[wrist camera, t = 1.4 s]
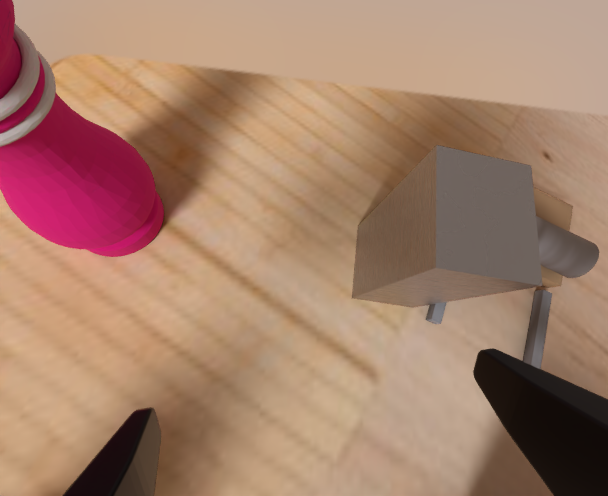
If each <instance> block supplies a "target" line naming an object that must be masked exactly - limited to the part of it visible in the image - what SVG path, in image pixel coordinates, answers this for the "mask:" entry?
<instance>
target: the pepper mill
mask: <svg viewBox="0 0 608 496" xmlns="http://www.w3.org/2000/svg"><path fill="white" fill-rule="evenodd" d="M14 16H15V15H14V5H13V2H12V0H0V189H1V191H2V193H3V195H4V197H5V200H6V202H7V204H8V205H9V207H10V208H11V210H12V211H13V212H14V213H15V214H16V215H17V217H18V218H19V219H20V220H21V221H22V222H23V223H24V224H25V225H26V226H27V227H28V228H30V229H31V230H32V231H34V232H36V233H37V234H39V235H41V236H42V237H44V238H45V239H47V240H49V241H51V242H53V243H55V244H58V245H62V246H65V247H69V248H76V249H87V250H89V251H91V252H93V253H95V254H98V255H102V256H109V257H118V256H124V255H128V254H131V253H134V252H136V251H138V250H140V249H142V248H144V247H145V246H146V245H148V244H149V243H150V242H151V241H152V240H153V239H154V238H155V236H156V235H157V233H158V232H159V230H160V228H161V226H162V222H163V217H164V209H163V204H162V201H161V199H160V197H159V195H158V193H157V192H156V191H155V183H154V178H153V175H152V172H151V170H150V168H149V166H148V164H147V163H146V162H145V161H144V159H143V158H142V157H141V156H140V154H139V153H138V152H137V151H136V150H135V148H134V147H132V146H131V145H130V144H129V143H127V142H126V141H125V140H123V139H122V138H121V137H119V136H118V135H117V134H115V133H113V132H111V131H110V130H108V129H106V128H103V127H101V126H99V125H97V124H94V123H92V122H90V121H88V120H86V119H84V118H83V117H82V116H80V115H79V114H78V113H76V112H75V111H73V110H72V109H71V108H70V107H69V106H68V105H67V104H66V103H65V102H64V101H63V100H62V99H61V98H60V97H59V96H58V95H57V94H56V85H55V77H54V75H53V72H52V69H51V67H50V65H49V64H48V62H47V61H46V59H45V58H44V57H43V56H42V55H41V54H40V53H39V52H38V51H37V50H36V48H35V46H34V44H33V43H32V41H31V40H30V39H29V37H28V36H27V35H26V33H24V32H23V31H22V30H21V29H20V28H19V27H18V26H17V25H16V24H15V17H14Z"/></svg>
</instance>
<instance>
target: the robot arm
mask: <svg viewBox="0 0 608 496" xmlns="http://www.w3.org/2000/svg"><path fill="white" fill-rule="evenodd" d="M473 373H474V378H475V380H476V382H477V383H478V385H479V387H480V388H481V390H482V392H483V393H484V395H485V396H486V398H487V400H488V401H489V403H490V405H491V406H492V408H493V409H494V411H495V413H496V414H497V416H498V418H499V419H500V421H501V422H502V424H503V426H504V427H505V429H506V430H507V432H508V433H509V435H510V436H511V437H512V439H513V440H514V442H515V443H516V444H517V446H518V447H519V448H520V450H521V451H522V453H523V454H524V455H525V457H526V458H527V459H528V461H529V462H530V464H531V465H532V466H533V468H534V469H535V470H536V472H537V473H538V474H539V476H540V477H541V479H542V480H543V481H544V483H545V484H546V485H547V487H548V488H549V489H550V491H551V492H552V494H553V495H554V496H608V399H606V398H603V397H601V396H599V395H597V394H594V393H592V392H590V391H588V390H585V389H583V388H581V387H579V386H577V385H574V384H572V383H570V382H568V381H565V380H563V379H561V378H559V377H556V376H554V375H552V374H550V373H548V372H545V371H543V370H541V369H539V368H536V367H534V366H532V365H530V364H527V363H525V362H523V361H521V360H519V359H516V358H514V357H512V356H510V355H507V354H505V353H503V352H501V351H499V350H496V349H486V350H481V351H480V352H479V353H478V355H477V359H476V363H475V367H474V371H473ZM160 443H161V431H160V427H159V423H158V419H157V416H156V412H155V410H154V408H151V407H150V408H144V409H138V410H136V411H134V412H133V413H132V414H131V415H130V416H129V418H128V419H127V420H126V421H125V422H124V423H123V425H122V426H121V427H120V428H119V429H118V431H117V432H116V433H115V434H114V435H113V436H112V438H111V439H110V440H109V441H108V442H107V444H106V445H105V446H104V447H103V448H102V449H101V451H100V452H99V453H98V454H97V455H96V457H95V458H94V459H93V460H92V461H91V462H90V464H89V465H88V466H87V467H86V468H85V470H84V471H83V472H82V473H81V474H80V475H79V477H78V478H77V479H76V480H75V481H74V483H73V484H72V485H71V486H70V487H69V488H68V490H67V491H66V492H65V493H64V494H63V496H154V491H155V483H156V475H157V467H158V459H159V451H160Z"/></svg>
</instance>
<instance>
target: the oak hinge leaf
mask: <svg viewBox="0 0 608 496" xmlns="http://www.w3.org/2000/svg"><path fill="white" fill-rule="evenodd" d="M533 191H534V201H535V212H536V222H537V233H538V243H539V254H540V264H541V275H542V285H543V286H545V287H548V288H549V287H556V286H561V283H562V276H565V277H567V278H576V277H579V276H582V275H584V274H586V273H587V272H589V271H590V270H591V269H592V268H593V267H594V265H595V264H596V262H597V260H598V257H599V249H598V247H597V246H596V245H595V244H594V243H592V242H590V241H588V240H586V239H584V238H581V237H579V236H577V235H575V234H573V233H571V232H569V229H570V222H571V215H572V208H573V206H572V205H569V204H567V203H565V202H563V201H561V200H559V199H557V198H555V197H553V196H551V195H549V194H547V193H545V192H542V191H540V190H538V189H536V188H534V187H533ZM551 298H552V293H550V292H548V291H546V290H538V291H535V296H534V301H533V307H532V313H531V319H530V324H529V330H528V336H527V341H526V347H525V353H524V359H523V362H525V363H527V364H530V365H532V366H534V367H536V368H539V369H540V368H541V362H542V355H543V349H544V343H545V336H546V330H547V323H548V317H549V310H550V304H551ZM445 306H446V302H443V303H437V304H430V307H429V310H428V314H427V318H426V320H427V321H430V322H432V323H434V324H441V321H442V317H443V314H444V310H445Z"/></svg>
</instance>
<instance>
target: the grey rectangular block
mask: <svg viewBox="0 0 608 496" xmlns="http://www.w3.org/2000/svg"><path fill="white" fill-rule="evenodd" d="M539 286H543V285H542V275H541V264H540V254H539V243H538V233H537V222H536V212H535V201H534V191H533V180H532V170H531V166H530V165H525V164H521V163H516V162H512V161H507V160H503V159H498V158H494V157H489V156H485V155H480V154H475V153H471V152H466V151H462V150H457V149H453V148H448V147H444V146H439V145H436V146H435V147H434V148H433V149H432V150H431V151H430V152H429V153H428V154H427V155H426V156H425V157H424V158H423V159H422V160H421V162H420V163H419V164H418V165H417V166H416V167H415V168H414V169H413V170H412V171H411V172H410V173H409V174H408V175H407V176H406V177H405V178H404V179H403V180H402V181H401V182H400V183H399V184H398V185H397V186H396V187H395V188H394V189H393V190H392V191H391V192H390V193H389V194H388V196H387V197H386V198H385V199H384V200H383V201H382V202H381V203H380V204H379V205H378V206H377V207H376V208H375V209H374V210H373V211H372V212H371V213H370V214H369V215H368V216H367V217H366V218H365V219H364V220H363V221H362V222H361V223H360V224H359V225H358V231H357V243H356V255H355V267H354V279H353V291H352V298H354V299H361V300H367V301H374V302H380V303H387V304H393V305H400V306H407V307H418V306H424V305H430V304H437V303H443V302H449V301H455V300H461V299H467V298H473V297H479V296H485V295H491V294H497V293H503V292H509V291H515V290H521V289H527V288H533V287H539Z"/></svg>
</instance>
